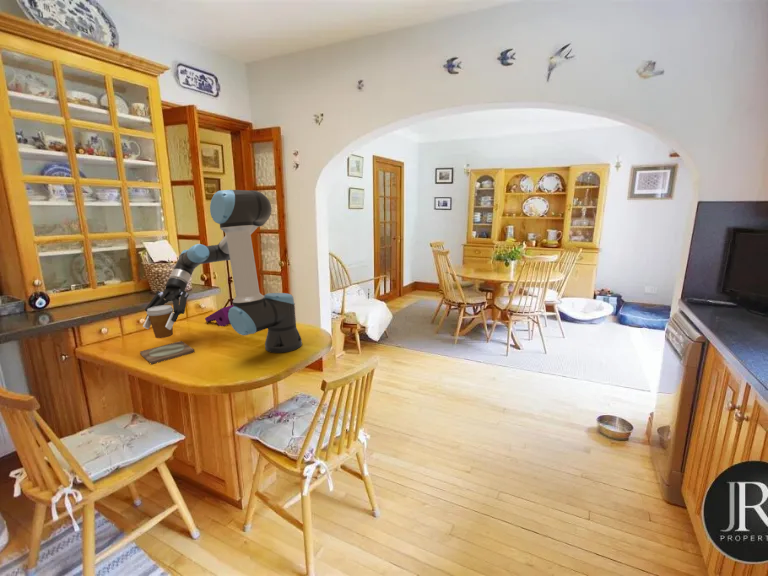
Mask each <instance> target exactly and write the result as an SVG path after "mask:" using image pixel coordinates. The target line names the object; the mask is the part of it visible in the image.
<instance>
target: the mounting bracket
mask: <svg viewBox="0 0 768 576" xmlns="http://www.w3.org/2000/svg"><path fill="white" fill-rule="evenodd" d="M232 307H234V306H233V304H232V305H228V306H225V307H221V308H220V309H218V310H217V311H215V312H213V313H212V314H210V315H208V316H206V317H205V318H204V320H205V321H206V323H209V322H212V321H215V322H216V324H217V325H218V326H220V327H225V326H227V325H229V324H231V323H230V321H229V317H228V313H229V310H230V308H232Z"/></svg>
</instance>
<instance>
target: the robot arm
mask: <svg viewBox="0 0 768 576" xmlns="http://www.w3.org/2000/svg"><path fill="white" fill-rule="evenodd" d="M209 209H210V211H209V212H210V216H211V218H212V221H213V222H214V223H216V224H218V225H219V229H220V230H221V231H223V232H224V233H225V236H224V237H223V238H222V239H221V240H220V242H219V243H218V244H213V245H205V244H201V243H196V244H193V245H192V246H190V247H189V248H188V249H184V250H182V251H181V253H180V255H179V256H178V259H177V261H176V263H175V266H174V268H173V269H172V271H171V273H170V275H169V278H168V279H167V282H166V284H165V289H164V290H163V291H160V290H157V291H156V293H155V295H154V296H153V298H152V299H151V301H150V302H149V303H148V305H147V306H146V307H145V308H144V311H145V312H146V313H147V309H149V308H151V307H155V306H161V305H166V304H167V303H168V302H172V308H173V312H172V313H171V315H170V317H169V319H168V321H167V324H166V326H165V327H166V328H167V329H169V330H171V328H172V326H173V327H174V325H175V324H174V323H175V322H177V320H178V318H179V316H180V315H181V314H182V315H184V314H185V312H186V306H187V301H188V297H189V296H190V295H189V293H188V292H187V291H185V290H186V288H187V287H188V283H189V281H190V280H191V278H192V275H193V273H194V271H195V269H196V268H198V267H199V266H200V265H202V264H210V263H215V262H224V261H230V267H231V273H232V274H231V275H232V279H233V286H234V290H235V297H234V299H233V300H232V305H233V306H234V307H232V308H230V310H229V313H228V317H229V321H230V323H229V324H230V325H231V327H232V329H233V330H234V331H235V332H236V333H237V334H239V335H241V336H248V335H254V334H256V333H258V332H261V331H264V330H267V333H266V339H265V343H264V347H265V350H266V351H267V352H268V353H275V354H278V353H289V352H292V351H295V350H297V349H300V347H302V345H303V342H302V340H303V339H302V336H301V335H300V333H299V331H298V328H297V323H296V322H297V319H296V307H295V304H296V303H295V300H294V295H292V294H290V293H285V292H269V293H265V294H264V295H263V294H262V293H261V292H260V288H259V280H258V274H257V267H256V260H255V256H254V255H255V254H254V248H253V242H252V236H251V235H252V234H253V233H254V232H255V231H256V230H257V228H259V227H263V226H264V225H265V224H266V223H267V222H268V220H269V219H270V217H271V216H272V215H271V214H272V203H271V201H270V200H269V198H268V196H266V195H265V194H264V193H263V192H261V191H258V190H251V189H250V190H247V189H246V190H245V189H242V190H241V189H225V190H224V189H222V190H218V191H216V192H215V193H214V194H213V196H212V198H211V200H210V205H209ZM142 327H143V328H144V329H147V330H150V328H151V327H152V325H151V322H150V319H149V316H148V315H147V314H146V317H145V321H144V323H143V324H142Z"/></svg>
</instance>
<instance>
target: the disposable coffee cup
mask: <svg viewBox="0 0 768 576" xmlns="http://www.w3.org/2000/svg"><path fill="white" fill-rule="evenodd" d="M173 311H174V309H173V305H169V304H164V305H161V306H155V307H151V308H149V309H147V312H146V316H147V315H148V316H149V319H150V322H151V328H152V330H153V334H154V337H155V338H156V339H164V338H169V337H171V336H173V335H174V328H173V327H174V325H173V326H172V328H171V330H169V329H167V328H166V327H165V326H166V324H167V321H168V319H169V317H170V315H171V313H174V312H173Z"/></svg>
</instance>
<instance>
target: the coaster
mask: <svg viewBox="0 0 768 576" xmlns="http://www.w3.org/2000/svg"><path fill="white" fill-rule="evenodd" d="M193 352H194V353H195V349H194V348H192V347H191V346H189V345H188V344H187V343H185V342H184V341H182V340H179V341H175V342H172V343H168V344H165V345H160V346H157V347H152V348H149V349H145V350H141V351H139V354H140V356H142V357H143V358H144V359H145V360H146V361H147V362H148V361H149V362H150V363H151V364H150V363H149V362H148V363H149V364H150V365H154V364H153V363H155V364H157V362H158V363H161V361H162V362H165V361H168V359H169V360H171V359H175V357H176V358H178V357H183V356H186V355H190V354H192V353H193ZM194 353H193V354H194ZM182 355H183V356H182ZM164 360H165V361H164Z"/></svg>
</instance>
